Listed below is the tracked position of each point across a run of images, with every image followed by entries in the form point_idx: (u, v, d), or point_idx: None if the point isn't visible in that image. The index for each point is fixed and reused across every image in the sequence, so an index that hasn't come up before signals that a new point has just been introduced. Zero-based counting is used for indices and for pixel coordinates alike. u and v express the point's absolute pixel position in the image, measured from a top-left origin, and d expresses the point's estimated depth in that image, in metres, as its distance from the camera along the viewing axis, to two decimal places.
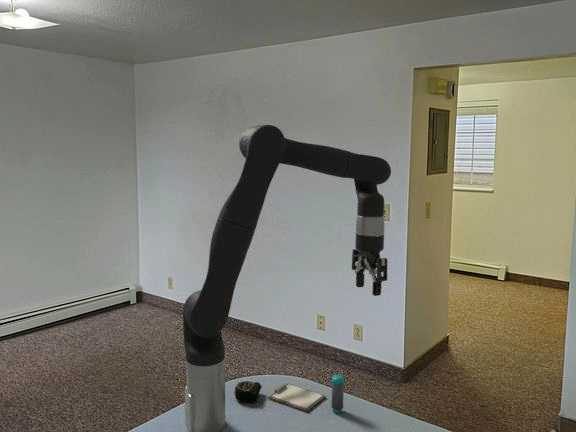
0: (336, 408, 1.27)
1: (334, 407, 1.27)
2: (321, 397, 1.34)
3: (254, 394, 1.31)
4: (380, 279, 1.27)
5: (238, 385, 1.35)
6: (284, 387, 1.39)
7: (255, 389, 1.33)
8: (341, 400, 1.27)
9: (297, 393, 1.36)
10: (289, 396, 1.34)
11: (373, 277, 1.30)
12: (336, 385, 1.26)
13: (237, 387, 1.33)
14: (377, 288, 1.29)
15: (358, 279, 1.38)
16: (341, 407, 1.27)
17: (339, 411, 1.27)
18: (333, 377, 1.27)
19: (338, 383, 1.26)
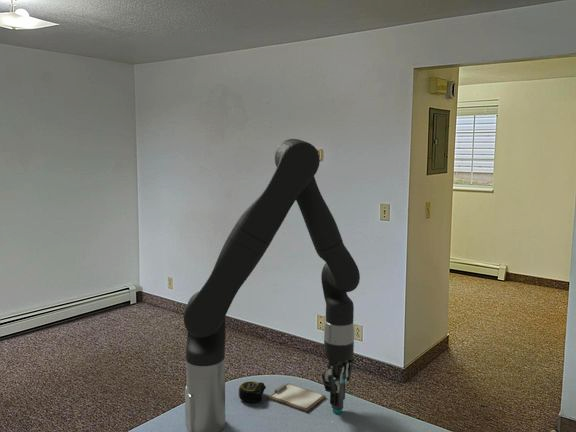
0: (336, 408, 1.27)
1: (334, 407, 1.27)
2: (321, 397, 1.34)
3: (258, 394, 1.31)
4: None
5: (242, 385, 1.35)
6: (284, 387, 1.39)
7: (259, 389, 1.33)
8: (341, 400, 1.27)
9: (297, 393, 1.36)
10: (289, 396, 1.34)
11: (345, 382, 1.28)
12: None
13: (241, 387, 1.33)
14: None
15: None
16: (341, 407, 1.27)
17: (339, 411, 1.27)
18: None
19: None
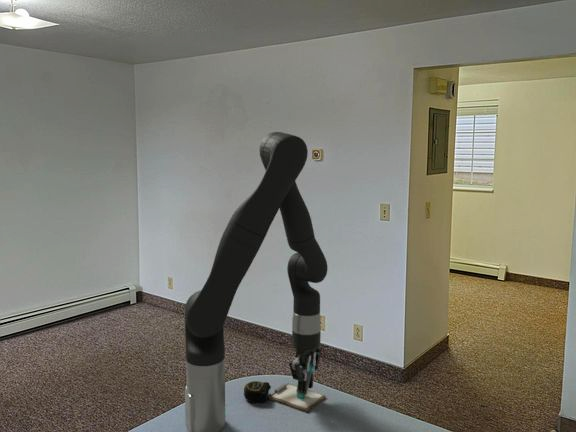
0: (300, 393, 1.32)
1: (298, 392, 1.33)
2: (321, 397, 1.34)
3: (263, 394, 1.31)
4: None
5: (247, 385, 1.35)
6: (284, 387, 1.39)
7: (264, 389, 1.33)
8: (306, 387, 1.32)
9: None
10: (289, 396, 1.34)
11: (313, 370, 1.33)
12: None
13: (246, 387, 1.34)
14: None
15: None
16: (305, 393, 1.33)
17: (302, 396, 1.33)
18: None
19: None
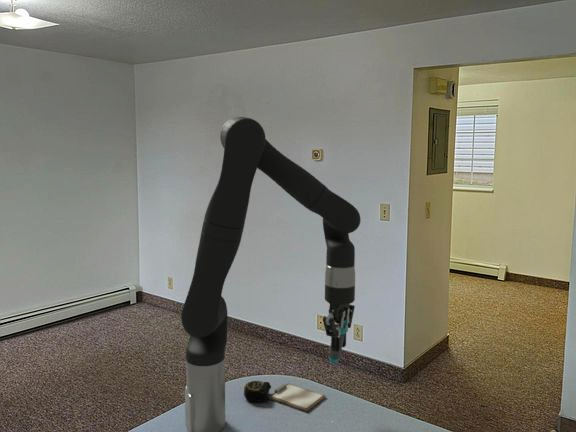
0: (333, 357, 1.26)
1: (331, 356, 1.26)
2: (321, 397, 1.34)
3: (263, 394, 1.31)
4: None
5: (247, 384, 1.35)
6: (284, 387, 1.39)
7: (264, 389, 1.33)
8: None
9: (297, 393, 1.36)
10: (289, 396, 1.34)
11: (346, 328, 1.26)
12: None
13: (246, 386, 1.34)
14: None
15: None
16: (338, 357, 1.26)
17: (335, 360, 1.26)
18: None
19: None
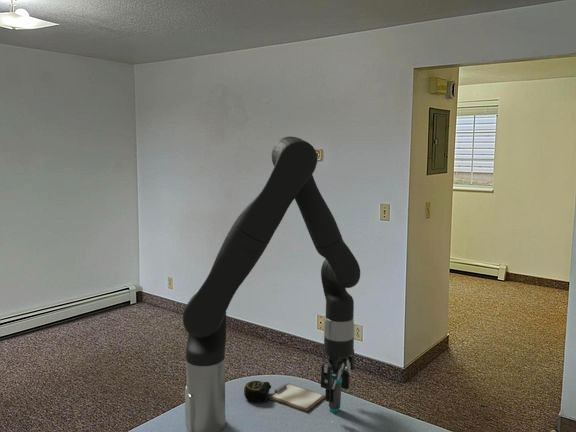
0: (332, 407, 1.27)
1: (331, 406, 1.28)
2: (321, 397, 1.34)
3: (263, 393, 1.31)
4: None
5: (248, 384, 1.35)
6: (284, 387, 1.39)
7: (264, 388, 1.33)
8: (338, 400, 1.27)
9: (297, 393, 1.36)
10: (289, 396, 1.34)
11: (349, 371, 1.30)
12: None
13: (247, 386, 1.34)
14: None
15: None
16: (338, 406, 1.27)
17: (336, 410, 1.28)
18: None
19: None
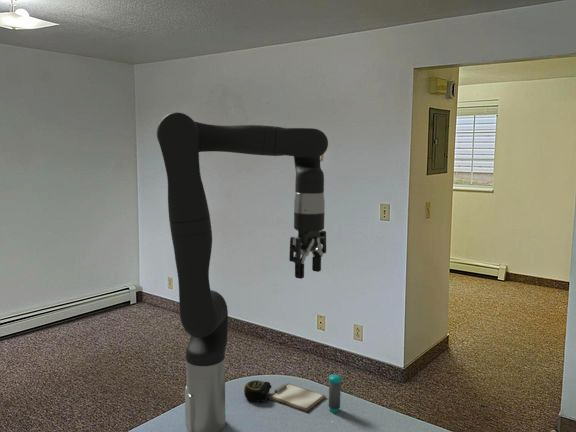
0: (332, 407, 1.27)
1: (330, 406, 1.28)
2: (321, 397, 1.34)
3: (263, 393, 1.32)
4: None
5: (248, 384, 1.35)
6: (284, 387, 1.39)
7: (264, 388, 1.33)
8: (337, 399, 1.27)
9: (297, 393, 1.36)
10: (289, 396, 1.34)
11: (321, 252, 1.27)
12: (332, 385, 1.26)
13: (247, 386, 1.34)
14: None
15: None
16: (337, 406, 1.27)
17: (335, 410, 1.28)
18: (330, 376, 1.28)
19: (334, 382, 1.26)
